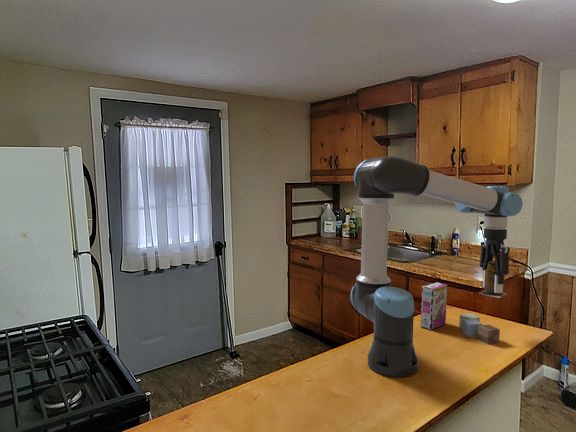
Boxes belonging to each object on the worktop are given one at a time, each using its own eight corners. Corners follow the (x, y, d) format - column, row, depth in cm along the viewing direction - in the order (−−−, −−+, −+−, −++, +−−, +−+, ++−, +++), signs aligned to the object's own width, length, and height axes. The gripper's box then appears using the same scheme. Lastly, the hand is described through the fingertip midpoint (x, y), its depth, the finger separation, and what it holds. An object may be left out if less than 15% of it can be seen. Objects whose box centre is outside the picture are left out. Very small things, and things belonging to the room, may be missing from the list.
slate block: (468, 337, 142) (468, 324, 142) (462, 332, 147) (462, 319, 147) (481, 337, 142) (482, 324, 142) (475, 332, 147) (475, 319, 147)
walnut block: (487, 344, 136) (488, 330, 135) (476, 339, 141) (477, 325, 140) (499, 342, 137) (499, 329, 137) (488, 337, 142) (488, 324, 142)
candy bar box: (431, 331, 148) (433, 289, 147) (420, 327, 152) (421, 286, 150) (446, 324, 155) (448, 284, 154) (435, 320, 159) (436, 281, 158)
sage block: (470, 331, 147) (470, 319, 147) (459, 327, 152) (459, 315, 152) (479, 329, 150) (479, 317, 149) (468, 325, 154) (468, 313, 154)
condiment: (507, 293, 144) (509, 262, 143) (499, 298, 138) (501, 265, 137) (486, 290, 149) (488, 259, 148) (478, 294, 143) (479, 262, 142)
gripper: (523, 231, 133) (519, 297, 135) (489, 225, 152) (486, 283, 154) (502, 231, 132) (499, 297, 134) (470, 225, 151) (468, 283, 153)
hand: (492, 289), depth 144 cm, fingers closed on condiment, 6 cm apart
